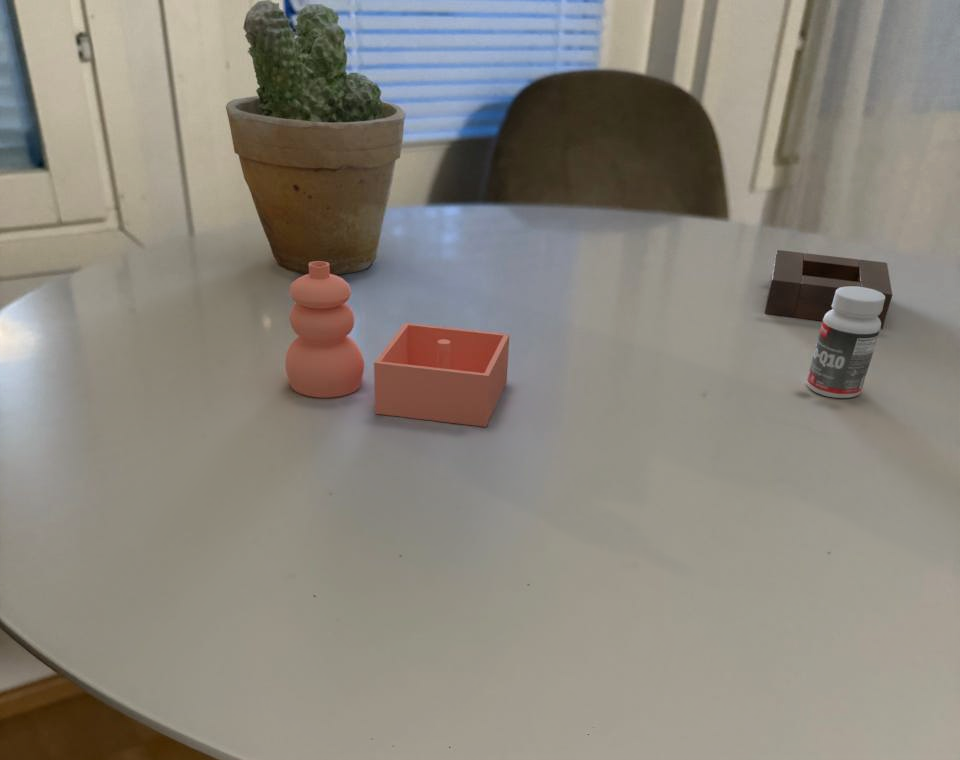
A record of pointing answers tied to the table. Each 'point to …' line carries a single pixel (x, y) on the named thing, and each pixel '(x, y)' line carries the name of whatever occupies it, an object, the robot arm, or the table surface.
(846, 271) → the holder
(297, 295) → the pottery
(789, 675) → the table surface
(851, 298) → the pill bottle
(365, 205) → the potted plant
